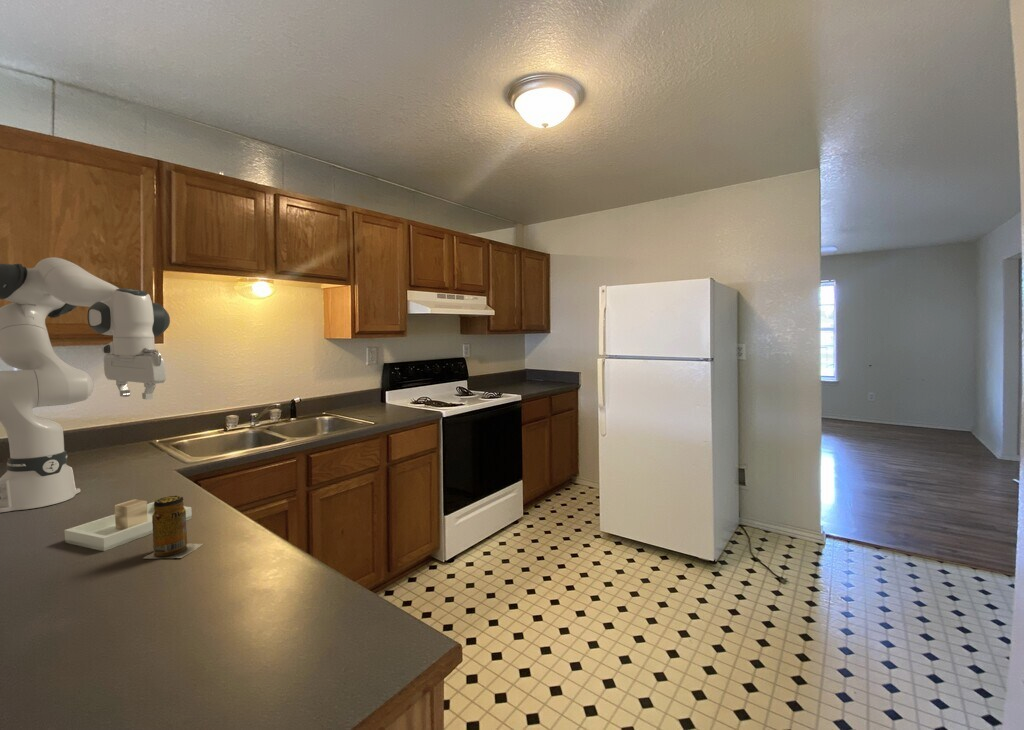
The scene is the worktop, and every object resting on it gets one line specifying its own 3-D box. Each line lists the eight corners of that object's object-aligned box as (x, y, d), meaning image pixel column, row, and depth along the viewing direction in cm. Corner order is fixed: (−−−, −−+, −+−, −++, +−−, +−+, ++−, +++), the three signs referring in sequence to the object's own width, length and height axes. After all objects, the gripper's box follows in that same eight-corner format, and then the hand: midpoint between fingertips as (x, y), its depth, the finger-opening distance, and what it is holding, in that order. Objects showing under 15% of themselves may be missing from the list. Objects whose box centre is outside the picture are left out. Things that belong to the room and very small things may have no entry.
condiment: (167, 544, 107) (165, 493, 106) (204, 544, 106) (201, 493, 106) (142, 559, 99) (139, 505, 99) (181, 559, 99) (178, 505, 99)
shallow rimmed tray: (65, 542, 108) (64, 530, 107) (155, 512, 126) (154, 501, 126) (104, 551, 103) (103, 538, 103) (192, 518, 122) (191, 507, 122)
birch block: (115, 529, 113) (114, 505, 113) (135, 522, 118) (134, 499, 117) (128, 531, 112) (126, 507, 112) (147, 524, 116) (146, 501, 116)
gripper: (172, 349, 126) (173, 399, 127) (123, 346, 133) (125, 393, 134) (147, 349, 120) (149, 402, 121) (97, 347, 127) (99, 396, 128)
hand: (136, 397), depth 128 cm, fingers open, 8 cm apart
